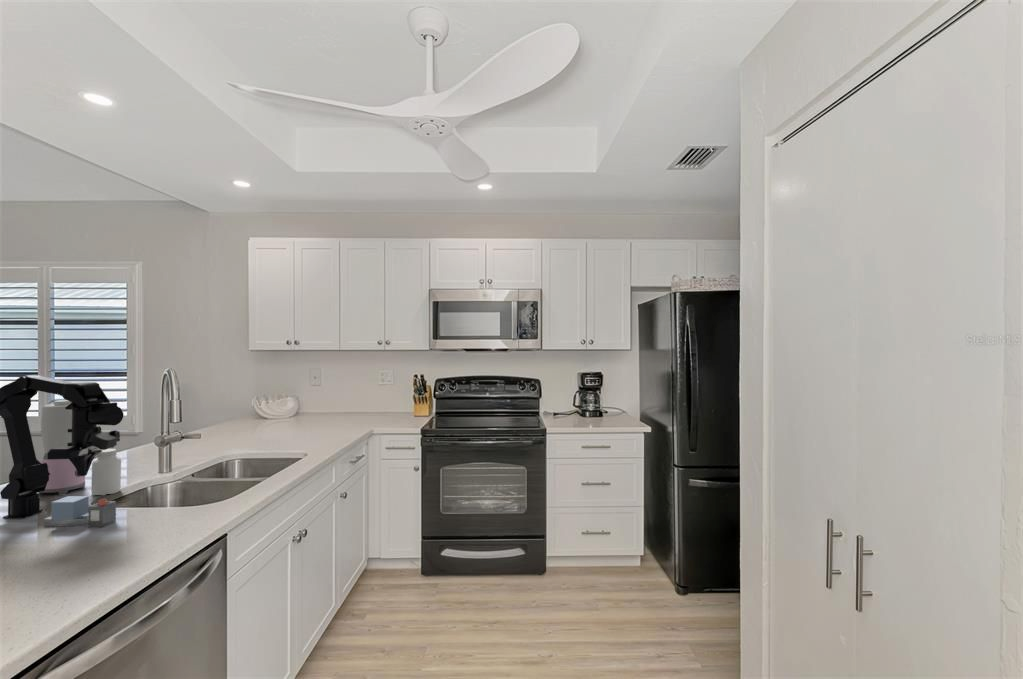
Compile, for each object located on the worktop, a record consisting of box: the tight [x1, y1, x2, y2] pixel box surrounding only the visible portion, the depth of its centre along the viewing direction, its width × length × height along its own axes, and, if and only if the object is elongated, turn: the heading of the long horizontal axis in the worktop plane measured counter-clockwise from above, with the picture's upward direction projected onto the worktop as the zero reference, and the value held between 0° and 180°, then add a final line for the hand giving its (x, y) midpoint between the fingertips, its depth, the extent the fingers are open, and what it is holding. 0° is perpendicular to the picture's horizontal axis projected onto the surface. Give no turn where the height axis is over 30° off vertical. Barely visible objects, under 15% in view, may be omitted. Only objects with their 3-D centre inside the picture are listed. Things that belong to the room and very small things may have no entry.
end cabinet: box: [87, 500, 117, 529], centre depth 144 cm, size 4×5×6 cm
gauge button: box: [97, 497, 108, 505], centre depth 144 cm, size 2×2×5 cm
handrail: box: [43, 515, 88, 527], centre depth 144 cm, size 13×2×2 cm, turn 93°
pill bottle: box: [90, 448, 122, 496], centre depth 173 cm, size 8×8×15 cm
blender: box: [38, 399, 86, 496], centre depth 174 cm, size 16×12×32 cm
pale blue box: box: [50, 495, 90, 520], centre depth 144 cm, size 6×5×5 cm
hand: (83, 475), depth 148 cm, fingers closed
